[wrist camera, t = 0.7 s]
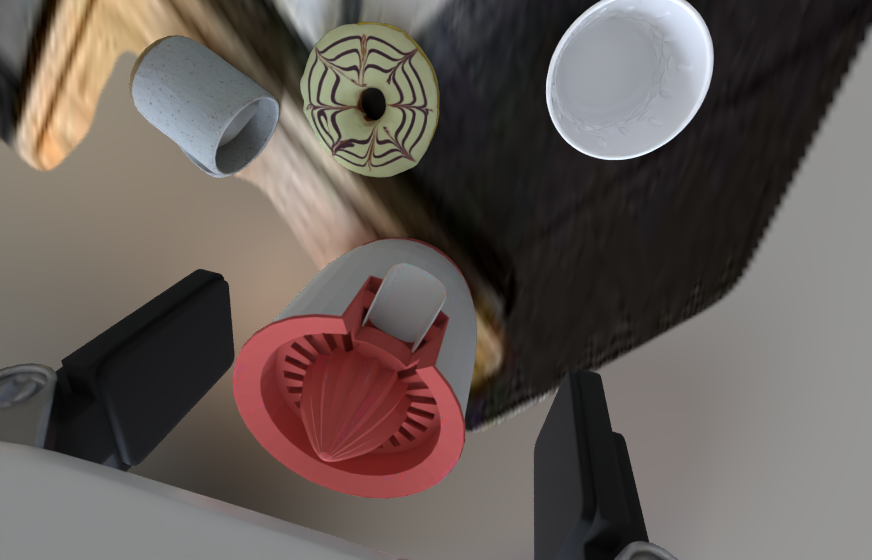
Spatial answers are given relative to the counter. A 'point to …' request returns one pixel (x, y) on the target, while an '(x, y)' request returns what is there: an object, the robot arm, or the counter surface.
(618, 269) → the counter surface
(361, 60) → the decorated donut
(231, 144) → the ceramic mug
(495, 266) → the counter surface
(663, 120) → the white cup
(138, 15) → the counter surface
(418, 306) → the citrus juicer
